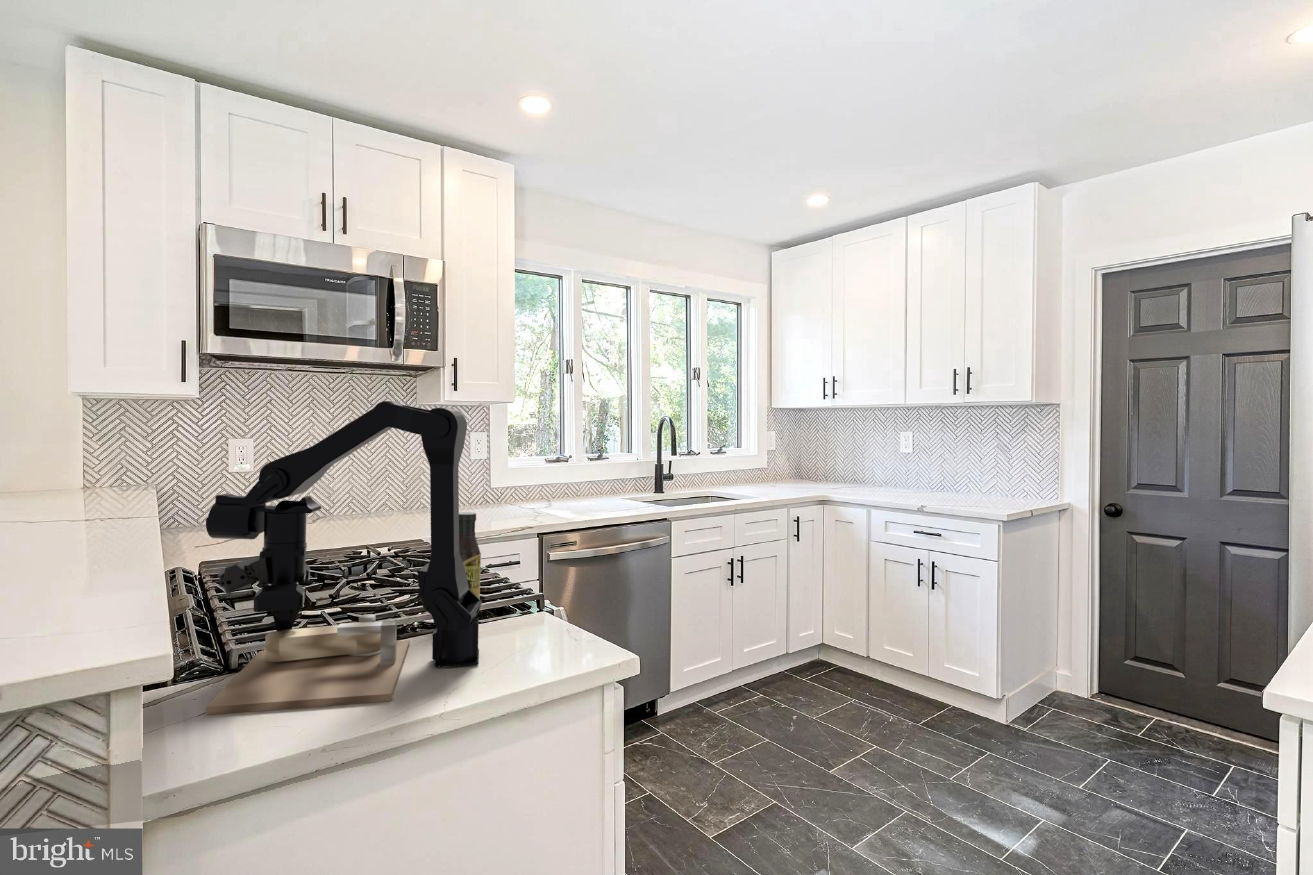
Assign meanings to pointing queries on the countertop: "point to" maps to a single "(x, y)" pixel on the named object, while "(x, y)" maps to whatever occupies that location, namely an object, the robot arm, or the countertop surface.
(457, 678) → the countertop surface
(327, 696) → the base
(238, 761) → the countertop surface
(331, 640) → the oak link
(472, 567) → the sauce bottle
